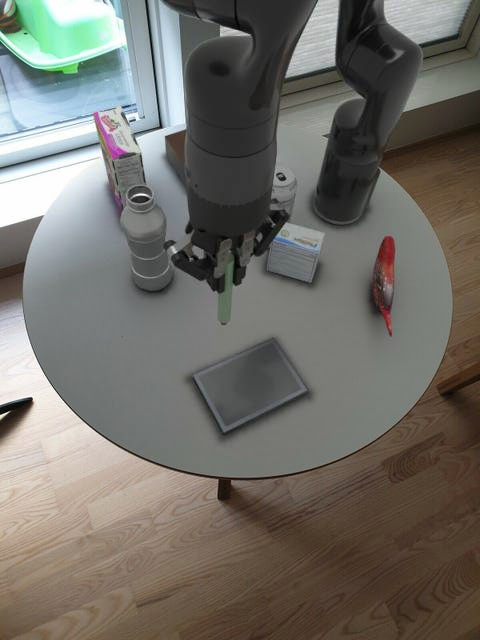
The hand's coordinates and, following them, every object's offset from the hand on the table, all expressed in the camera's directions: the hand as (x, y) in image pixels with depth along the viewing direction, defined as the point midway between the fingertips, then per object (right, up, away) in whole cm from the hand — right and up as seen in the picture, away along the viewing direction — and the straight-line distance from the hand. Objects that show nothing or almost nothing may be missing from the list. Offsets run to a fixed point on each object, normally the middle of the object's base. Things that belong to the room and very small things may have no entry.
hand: (225, 282), depth 61 cm
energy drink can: (+7, +10, +35) cm, 37 cm away
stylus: (0, -5, +8) cm, 9 cm away
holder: (-6, +25, +43) cm, 50 cm away
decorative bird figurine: (+24, -2, +29) cm, 38 cm away
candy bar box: (-18, +17, +37) cm, 45 cm away
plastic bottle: (-13, +2, +29) cm, 32 cm away
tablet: (+3, -14, +20) cm, 25 cm away
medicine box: (+10, +5, +32) cm, 34 cm away
